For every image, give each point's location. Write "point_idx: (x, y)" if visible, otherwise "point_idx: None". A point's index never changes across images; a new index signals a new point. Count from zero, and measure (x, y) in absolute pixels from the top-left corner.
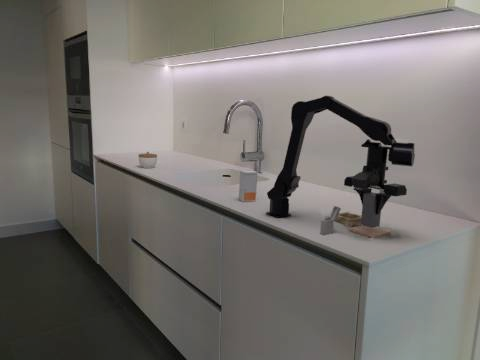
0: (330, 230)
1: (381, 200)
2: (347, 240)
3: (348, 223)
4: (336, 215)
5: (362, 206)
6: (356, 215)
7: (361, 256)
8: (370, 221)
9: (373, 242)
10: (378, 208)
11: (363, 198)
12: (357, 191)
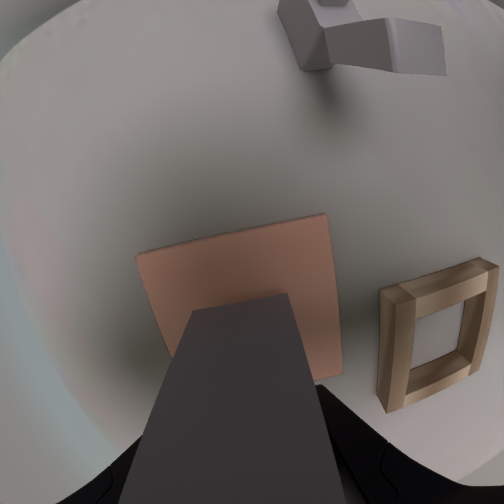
0: (296, 40)
1: (65, 500)
2: (150, 72)
3: (402, 288)
4: (341, 38)
5: (315, 391)
6: (432, 383)
7: (14, 57)
8: (199, 331)
9: (82, 199)
10: (134, 442)
11: (335, 486)
12: (499, 501)
